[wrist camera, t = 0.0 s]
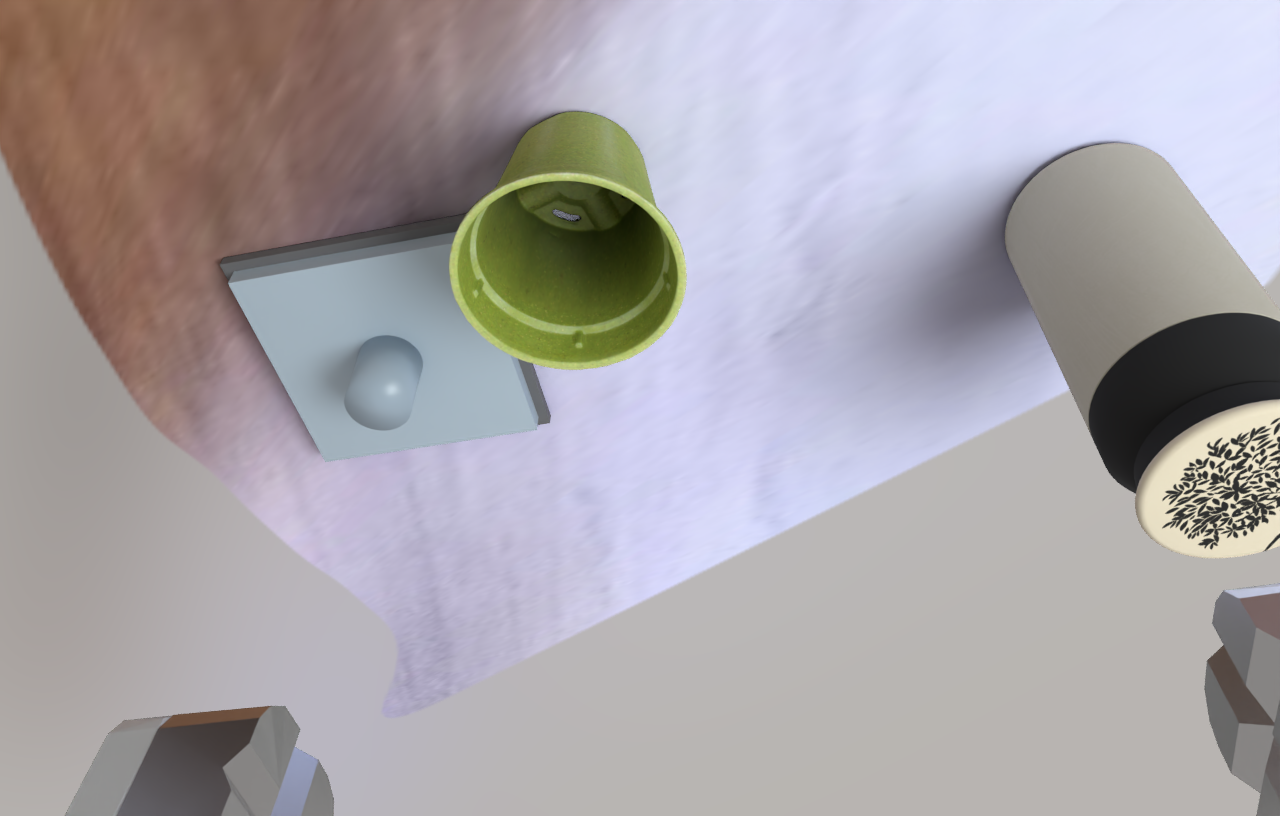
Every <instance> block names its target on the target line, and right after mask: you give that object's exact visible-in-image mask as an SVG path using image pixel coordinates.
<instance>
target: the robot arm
mask: <svg viewBox="0 0 1280 816" xmlns="http://www.w3.org/2000/svg"><path fill="white" fill-rule="evenodd" d="M1212 624H1213V626H1214V628H1215V629H1216V631H1217V633H1218V635H1219V637H1220V639H1221V641H1222V643H1223V644H1224V645H1223V646H1222V647H1221V648H1220V649H1219V650H1218V651H1217V652H1216V653H1215V654H1214V655H1213V656H1211V657H1210V658H1209V659H1208V660H1207V667H1206V678H1205V695H1206V701H1207V707H1208V714H1209V720H1210V724H1211V726H1212V729H1213V732H1214V735H1215V738H1216V741H1217V744H1218V747H1219V748H1220V751H1221V753H1222V755H1223V757H1224V759H1225V761H1226V763H1227V765H1228V767H1229V770H1230V771H1231V773H1232V774H1233V775H1235V776H1236V777H1238V778H1239V779H1240V780H1242V781H1243V782H1245V783H1246V784H1248V785H1249V786H1251V787H1252V788H1253V789H1255V790H1256V791H1258V792H1259V793H1261V794H1260V799H1259V805H1258V810H1257V815H1256V816H1280V583H1277V584H1269V585H1262V586H1254V587H1246V588H1239V589H1232V590H1224V591H1223V592H1222V593H1221V595H1220V596H1219V598H1218V599H1217V601H1216V603H1215V609H1214V615H1213V622H1212ZM299 732H300V728H299V726H298V725H297V723H296V722H295V720H294V719H293V717H292V716H291V714H290V713H289V711H288V710H287V708H286V707H285V706H265V707H254V708H243V709H233V710H221V711H211V712H200V713H189V714H178V715H173V716H163V717H154V718H143V719H134V720H124V721H123V722H122V723H121V724H119V725H118V726H117V727H116V728H114V729H113V730H112V731H111V732H109V733H108V735H107V736H106V738H105V740H104V742H103V744H102V746H101V748H100V750H99V752H98V753H97V755H96V757H95V759H94V761H93V763H92V765H91V767H90V769H89V771H88V772H87V774H86V776H85V778H84V780H83V782H82V784H81V786H80V788H79V790H78V791H77V793H76V795H75V797H74V799H73V801H72V803H71V805H70V807H69V808H68V810H67V812H66V814H65V816H333V814H334V798H333V794H332V790H331V786H330V782H329V779H328V776H327V774H326V772H325V771H324V769H323V767H322V765H321V763H320V762H319V760H318V759H316V758H314V757H313V756H311V755H309V754H307V753H305V752H303V751H302V750H300V749H298V748H296V747H295V744H296V741H297V738H298V735H299Z"/></svg>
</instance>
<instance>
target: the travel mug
mask: <svg viewBox="0 0 1280 816" xmlns="http://www.w3.org/2000/svg"><path fill="white" fill-rule="evenodd" d="M1005 245H1006V250H1007V254H1008V256H1009V259H1010V261H1011V263H1012V265H1013V267H1014V270H1015V272H1016V274H1017V276H1018V278H1019V280H1020V283H1021V285H1022V287H1023V289H1024V291H1025V293H1026V296H1027V298H1028V300H1029V302H1030V304H1031V306H1032V309H1033V311H1034V313H1035V315H1036V317H1037V319H1038V321H1039V324H1040V326H1041V328H1042V330H1043V332H1044V334H1045V337H1046V339H1047V341H1048V343H1049V345H1050V347H1051V350H1052V352H1053V354H1054V356H1055V358H1056V360H1057V363H1058V365H1059V367H1060V369H1061V371H1062V373H1063V376H1064V378H1065V380H1066V382H1067V384H1068V386H1069V389H1070V391H1071V393H1072V395H1073V397H1074V399H1075V402H1076V403H1077V406H1078V408H1079V410H1080V412H1081V414H1082V416H1083V419H1084V421H1085V423H1086V425H1087V427H1088V430H1089V432H1090V434H1091V436H1092V438H1093V440H1094V443H1095V445H1096V446H1097V449H1098V451H1099V453H1100V455H1101V458H1102V460H1103V462H1104V464H1105V466H1106V468H1107V470H1108V471H1109V473H1110V474H1111V476H1112V477H1113V478H1114V479H1115V480H1116V481H1117V482H1118V483H1120V484H1121V485H1122V486H1124V487H1125V488H1127V489H1128V490H1130V491H1132V492H1134V493H1136V497H1135V509H1136V514H1137V517H1138V521H1139V523H1140V525H1141V527H1142V528H1143V529H1144V531H1145V532H1146V534H1148V536H1149V537H1150V538H1151V539H1153V540H1154V541H1155V542H1156V543H1158V544H1159V545H1161V546H1163V547H1165V548H1167V549H1169V550H1171V551H1174V552H1176V553H1179V554H1183V555H1187V556H1193V557H1200V558H1231V557H1239V556H1245V555H1250V554H1254V553H1259V552H1263V551H1266V550H1270V549H1273V548H1276V547H1278V546H1280V309H1279V308H1278V306H1277V305H1276V304H1275V302H1274V301H1273V300H1272V299H1271V297H1270V296H1269V294H1268V293H1267V292H1266V290H1265V289H1264V288H1263V286H1262V285H1261V284H1260V282H1259V281H1258V280H1257V279H1256V277H1255V276H1254V275H1253V273H1252V272H1251V271H1250V269H1249V268H1248V267H1247V265H1246V264H1245V263H1244V261H1243V260H1242V259H1241V257H1240V256H1239V255H1238V253H1237V252H1236V251H1235V250H1234V248H1233V247H1232V246H1231V244H1230V243H1229V242H1228V240H1227V239H1226V238H1225V236H1224V235H1223V234H1222V232H1221V231H1220V230H1219V228H1218V227H1217V226H1216V224H1215V223H1214V222H1213V221H1212V219H1211V218H1210V217H1209V215H1208V214H1207V213H1206V211H1205V210H1204V209H1203V207H1202V206H1201V205H1200V203H1199V202H1198V201H1197V199H1196V198H1195V197H1194V195H1193V194H1192V193H1191V192H1190V190H1189V189H1188V188H1187V186H1186V185H1185V184H1184V182H1183V181H1182V180H1181V178H1180V177H1179V176H1178V174H1177V173H1176V172H1175V170H1174V169H1173V168H1172V167H1171V165H1170V164H1169V163H1168V162H1167V161H1166V160H1165V159H1164V158H1163V157H1161V156H1160V155H1158V154H1157V153H1155V152H1153V151H1151V150H1149V149H1147V148H1144V147H1141V146H1137V145H1132V144H1125V143H1108V144H1100V145H1094V146H1090V147H1086V148H1083V149H1080V150H1077V151H1074V152H1072V153H1070V154H1068V155H1065V156H1063V157H1062V158H1060V159H1058V160H1056V161H1054V162H1053V163H1051V164H1050V165H1048V166H1047V167H1046V168H1044V169H1043V170H1042V171H1040V172H1039V173H1038V174H1037V175H1036V176H1035V177H1034V178H1033V179H1032V180H1031V181H1030V182H1029V183H1028V184H1027V185H1026V186H1025V187H1024V189H1023V190H1022V191H1021V193H1020V194H1019V196H1018V197H1017V199H1016V200H1015V202H1014V204H1013V206H1012V208H1011V210H1010V213H1009V216H1008V219H1007V223H1006V228H1005Z"/></svg>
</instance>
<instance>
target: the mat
mask: <svg viewBox="0 0 1280 816" xmlns="http://www.w3.org/2000/svg"><path fill="white" fill-rule="evenodd" d="M465 216H466V214H463V215H457V216H452V217H446V218H441V219H435V220H430V221H424V222H419V223H413V224H408V225H402V226H397V227H391V228H386V229H380V230H375V231H369V232H363V233H358V234H352V235H347V236H341V237H336V238H330V239H325V240H319V241H314V242H308V243H303V244H297V245H292V246H286V247H281V248H275V249H270V250H264V251H259V252H253V253H248V254H242V255H237V256H231V257H226V258H223V260H222V261H221V263H220V266H221V268H222V270H223V272H224V274H225V275H226V277H227V279H228V281H229V280H230V278H231V276H232V274H233V272H234V271H240V270H245V269H251V268H257V267H262V266H268V265H273V264H279V263H284V262H290V261H296V260H301V259H307V258H312V257H318V256H323V255H329V254H335V253H340V252H346V251H351V250H357V249H363V248H368V247H374V246H379V245H385V244H390V243H396V242H402V241H407V240H413V239H418V238H424V237H429V236H435V235H441V234H446V233H452V232H457V230H458V228H459V225H460V224H461V222H462V220H463V219H464V217H465ZM518 361H519V364H520V367H521V370H522V372H523V375H524V378H525V381H526V384H527V386H528V389H529V392H530V395H531V398H532V401H533V403H534V406H535V409H536V412H537V415H538V417H539V418H538V425H540V424H546V423H550V417H551V415H550V412H549V410H548V407H547V404H546V401H545V398H544V395H543V392H542V389H541V386H540V383H539V381H538V378H537V375H536V372H535V369H534V366H533V363H529V362H526V361H522V360H520V359H518Z"/></svg>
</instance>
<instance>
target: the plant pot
mask: <svg viewBox="0 0 1280 816" xmlns="http://www.w3.org/2000/svg"><path fill="white" fill-rule="evenodd" d="M621 195H623V196H625V197H626V198H622V196H621ZM555 209H557V210H559V211H563V212H565V213H568V214H572V215H579V216H580V217H581V220H579V221H567V220H565V219H561V218H559V217H557V216H556V215H554V214H553V212H552V211H553V210H555ZM449 275H450V283H451V287H452V291H453V294H454V298H455V300H456V302H457V304H458V305H459V307H460V309H461V311H462V313H463V314H464V316H465V317H466V319H467V321H468V322H469V323H470V324H471V325H472V327H473V328H474V329H475V330H476V331H477V332H478V333H479V334H480V335H481V336H482V337H484V338H485V339H486V340H487V341H488V342H489V343H491V344H492V345H494V346H495V347H497V348H498V349H500V350H502V351H503V352H505V353H507V354H509V355H511V356H513V357H515V358H518V359H520V360H522V361H526V362H529V363H533V364H536V365H540V366H544V367H550V368H555V369H567V370H581V369H589V368H598V367H603V366H608V365H611V364H614V363H617V362H620V361H623V360H626V359H629V358H631V357H633V356H635V355H637V354H638V353H640V352H642V351H644V350H645V349H647V348H648V347H649V346H651V345H652V344H653V343H655V342H656V341H657V340H658V339H659V338H660V337H661V336H662V335H663V334H664V333H665V332H666V331H667V329H668V328H669V327H670V326H671V324H672V323H673V321H674V320H675V318H676V316H677V314H678V312H679V309H680V307H681V305H682V301H683V298H684V295H685V290H686V278H687V275H686V264H685V258H684V253H683V250H682V247H681V244H680V241H679V239H678V236H677V235H676V233H675V231H674V229H673V227H672V225H671V224H670V223H669V221H668V220H667V218H666V217H665V216H664V215H663V213H662V212H661V211H660V210H659V209H658V208H657V207H656V204H655V200H654V197H653V193H652V189H651V186H650V182H649V178H648V174H647V170H646V167H645V163H644V159H643V156H642V154H641V152H640V150H639V148H638V147H637V145H636V144H635V142H634V141H633V139H632V138H631V137H630V135H629V134H628V133H627V132H626V131H625V130H624V129H623V128H622V127H620V126H619V125H618V124H616V123H614V122H613V121H611V120H609V119H607V118H605V117H602V116H599V115H596V114H592V113H586V112H565V113H561V114H558V115H555V116H553V117H551V118H549V119H546V120H544V121H543V122H541V123H539V124H537V125H535V126H534V127H532V128H530V129H529V130H528V131H527V132H526V133H525V135H524V136H523V137H522V138H521V140H520V142H519V143H518V145H517V147H516V149H515V151H514V153H513V155H512V157H511V159H510V161H509V163H508V165H507V167H506V169H505V171H504V173H503V175H502V177H501V179H500V181H499V182H498V184H497V186H496V188H495V189H493V190H492V191H490V192H489V193H488V194H486V195H485V196H484V197H482V198H481V199H480V200H479V201H478V202H477V203H476V204H475V205H474V206H473V207H472V208H471V209H470V210H469V212H468V213H467V214H466V216H465V217H464V219H463V220H462V222H461V224H460V225H459V228H458V230H457V232H456V234H455V237H454V240H453V243H452V247H451V251H450V257H449Z"/></svg>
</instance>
